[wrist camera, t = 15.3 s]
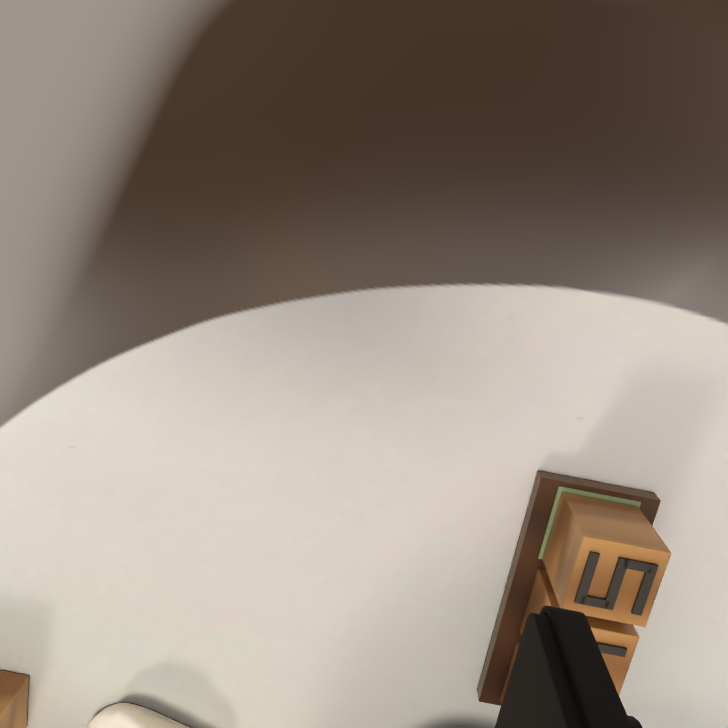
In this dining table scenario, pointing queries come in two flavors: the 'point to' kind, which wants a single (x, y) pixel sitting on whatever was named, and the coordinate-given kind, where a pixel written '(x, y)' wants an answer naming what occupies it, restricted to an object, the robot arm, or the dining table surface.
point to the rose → (131, 718)
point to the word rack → (535, 590)
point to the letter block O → (13, 699)
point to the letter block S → (604, 559)
